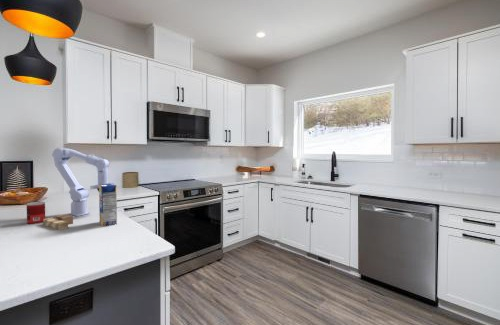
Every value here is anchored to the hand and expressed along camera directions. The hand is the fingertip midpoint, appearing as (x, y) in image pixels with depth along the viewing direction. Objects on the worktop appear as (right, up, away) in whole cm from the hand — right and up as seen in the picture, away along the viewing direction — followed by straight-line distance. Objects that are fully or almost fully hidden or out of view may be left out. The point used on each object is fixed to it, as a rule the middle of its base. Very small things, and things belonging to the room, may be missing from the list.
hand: (103, 198), depth 158 cm
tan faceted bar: (-10, -11, -26) cm, 30 cm away
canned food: (-27, -11, -18) cm, 34 cm away
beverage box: (+14, -11, -19) cm, 26 cm away
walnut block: (-9, -11, -21) cm, 25 cm away
